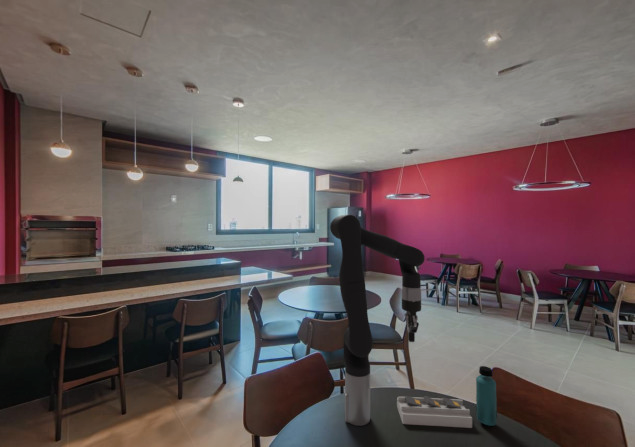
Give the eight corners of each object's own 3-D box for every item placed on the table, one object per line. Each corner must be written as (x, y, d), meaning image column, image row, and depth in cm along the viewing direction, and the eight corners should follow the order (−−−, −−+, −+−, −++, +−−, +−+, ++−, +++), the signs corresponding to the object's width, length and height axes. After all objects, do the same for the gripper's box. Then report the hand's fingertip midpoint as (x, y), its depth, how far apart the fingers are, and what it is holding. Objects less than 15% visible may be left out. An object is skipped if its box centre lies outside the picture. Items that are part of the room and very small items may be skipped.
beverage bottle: (500, 431, 98) (500, 373, 99) (479, 429, 100) (479, 371, 100) (492, 419, 105) (492, 364, 105) (473, 416, 106) (472, 362, 106)
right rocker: (446, 406, 104) (447, 403, 104) (442, 399, 108) (443, 396, 108) (461, 411, 103) (461, 408, 103) (456, 403, 108) (456, 401, 108)
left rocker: (407, 404, 105) (408, 401, 105) (404, 397, 109) (405, 395, 109) (421, 409, 104) (422, 406, 104) (418, 402, 109) (419, 399, 109)
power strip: (402, 423, 102) (402, 409, 102) (397, 406, 112) (397, 393, 112) (472, 427, 100) (472, 413, 100) (460, 409, 110) (460, 396, 110)
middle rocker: (427, 404, 104) (428, 401, 104) (423, 397, 109) (424, 394, 109) (440, 411, 104) (441, 408, 104) (436, 403, 108) (437, 401, 108)
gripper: (398, 293, 121) (398, 334, 121) (405, 301, 108) (405, 347, 108) (416, 294, 121) (416, 335, 120) (425, 302, 107) (425, 348, 107)
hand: (411, 341), depth 114 cm, fingers closed
